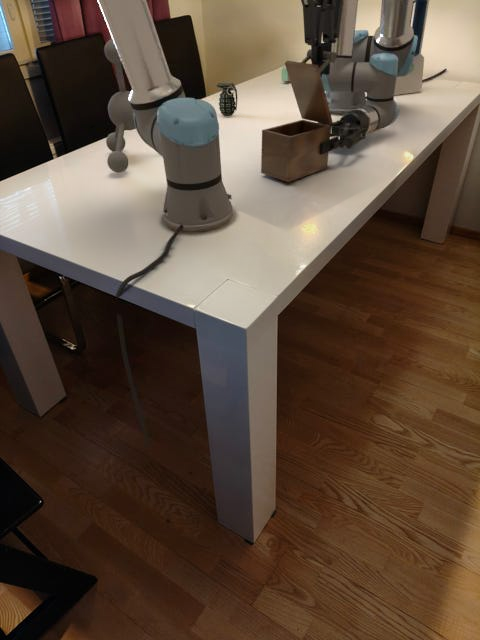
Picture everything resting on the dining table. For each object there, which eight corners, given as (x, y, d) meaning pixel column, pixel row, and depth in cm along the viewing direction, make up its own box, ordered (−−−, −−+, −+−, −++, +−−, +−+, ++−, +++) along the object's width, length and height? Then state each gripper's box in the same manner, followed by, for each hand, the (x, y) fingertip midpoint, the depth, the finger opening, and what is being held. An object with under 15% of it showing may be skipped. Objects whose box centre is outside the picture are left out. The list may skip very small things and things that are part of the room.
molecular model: (192, 164, 133) (178, 39, 115) (111, 178, 128) (83, 49, 109) (169, 139, 151) (154, 28, 132) (98, 152, 145) (72, 36, 127)
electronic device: (391, 95, 179) (404, -2, 161) (381, 91, 185) (392, -4, 167) (421, 91, 181) (437, -5, 163) (410, 87, 187) (425, -6, 169)
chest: (288, 182, 118) (290, 137, 112) (260, 172, 124) (261, 129, 118) (326, 168, 127) (331, 126, 121) (299, 160, 132) (302, 119, 126)
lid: (315, 67, 108) (337, 43, 110) (284, 63, 114) (306, 40, 115) (330, 125, 120) (350, 102, 122) (301, 118, 126) (321, 97, 127)
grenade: (217, 117, 168) (214, 86, 162) (221, 112, 172) (219, 82, 166) (235, 117, 166) (233, 86, 160) (239, 113, 171) (238, 82, 165)
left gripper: (333, -49, 109) (327, 67, 123) (288, -45, 101) (287, 79, 115) (361, -50, 104) (352, 70, 119) (316, -46, 96) (312, 83, 111)
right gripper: (390, 145, 132) (339, 169, 120) (326, 130, 145) (274, 150, 133) (394, 116, 127) (341, 138, 115) (327, 103, 140) (274, 121, 128)
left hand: (320, 74), depth 117 cm, fingers closed on lid, 2 cm apart
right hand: (305, 144), depth 124 cm, fingers closed on chest, 9 cm apart
